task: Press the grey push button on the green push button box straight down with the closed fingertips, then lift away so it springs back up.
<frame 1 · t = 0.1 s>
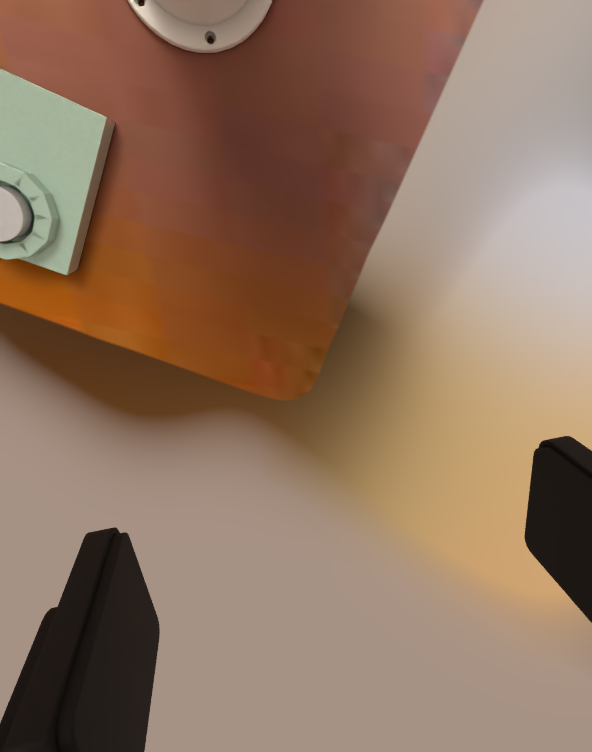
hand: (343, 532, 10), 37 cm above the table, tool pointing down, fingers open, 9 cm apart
green push button box: (34, 175, 38), on the table
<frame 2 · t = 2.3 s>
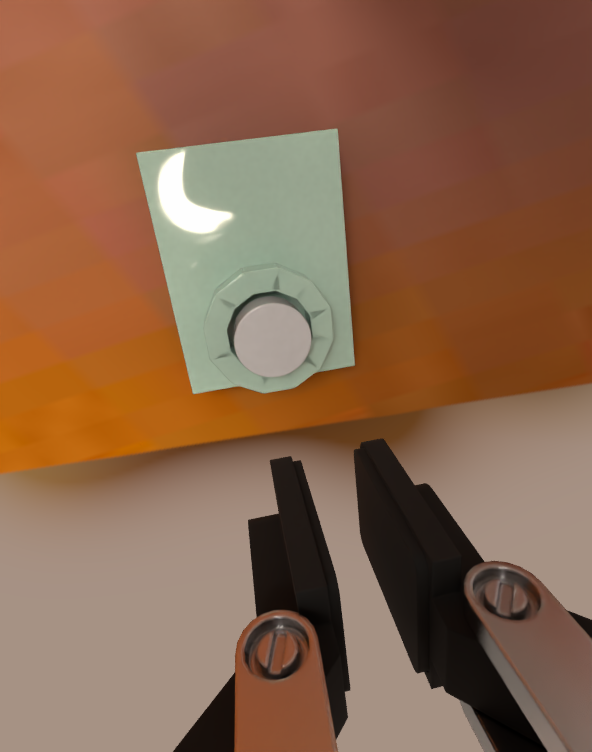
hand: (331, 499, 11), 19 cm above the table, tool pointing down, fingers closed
green push button box: (254, 263, 27), on the table
grey push button: (271, 336, 24), point 5 cm above the table, slide at 0.1 cm
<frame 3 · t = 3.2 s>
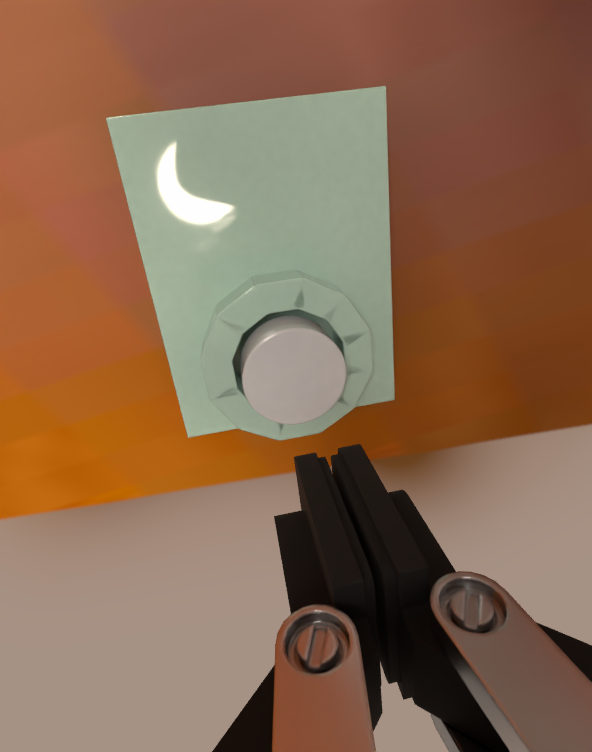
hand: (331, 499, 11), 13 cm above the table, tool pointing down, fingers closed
green push button box: (267, 269, 21), on the table
grey push button: (292, 370, 18), point 5 cm above the table, slide at 0.1 cm
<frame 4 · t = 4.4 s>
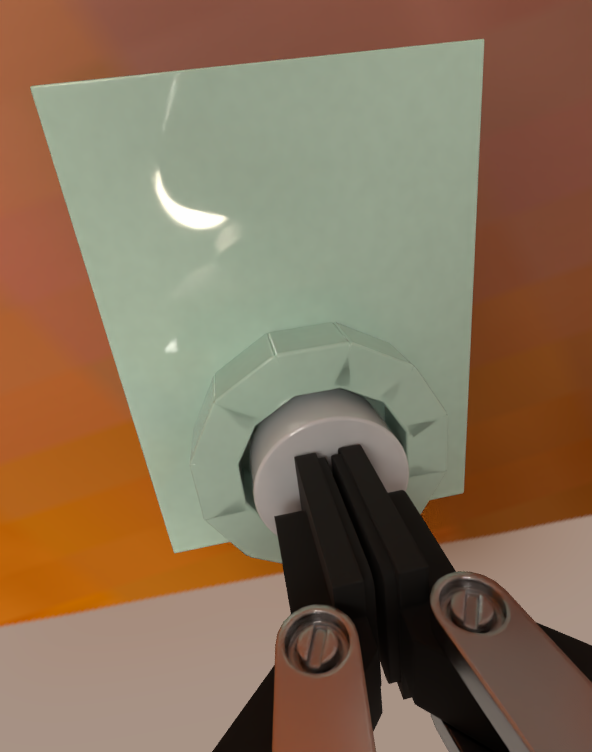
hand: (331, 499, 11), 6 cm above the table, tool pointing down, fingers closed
green push button box: (286, 311, 15), on the table
grey push button: (326, 468, 12), point 5 cm above the table, slide at -0.4 cm, touching gripper
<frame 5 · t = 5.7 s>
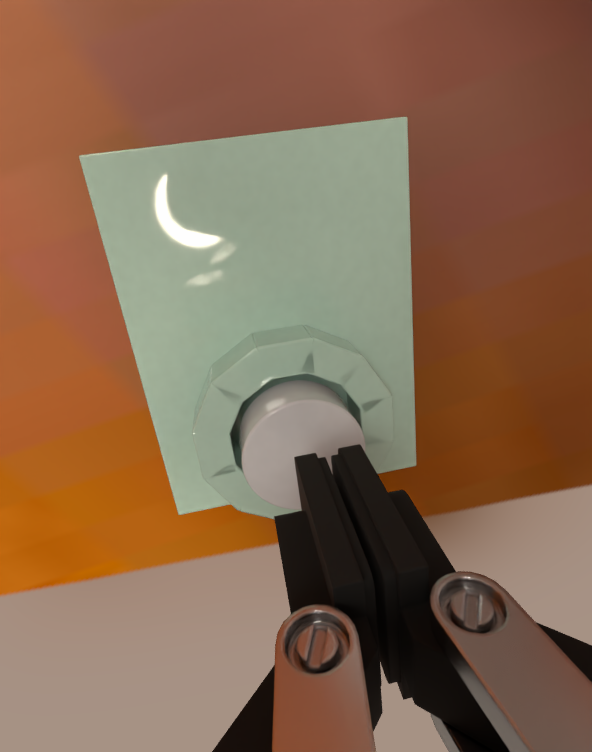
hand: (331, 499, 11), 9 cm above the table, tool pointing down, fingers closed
green push button box: (269, 318, 19), on the table
grey push button: (300, 444, 15), point 5 cm above the table, slide at 0.1 cm
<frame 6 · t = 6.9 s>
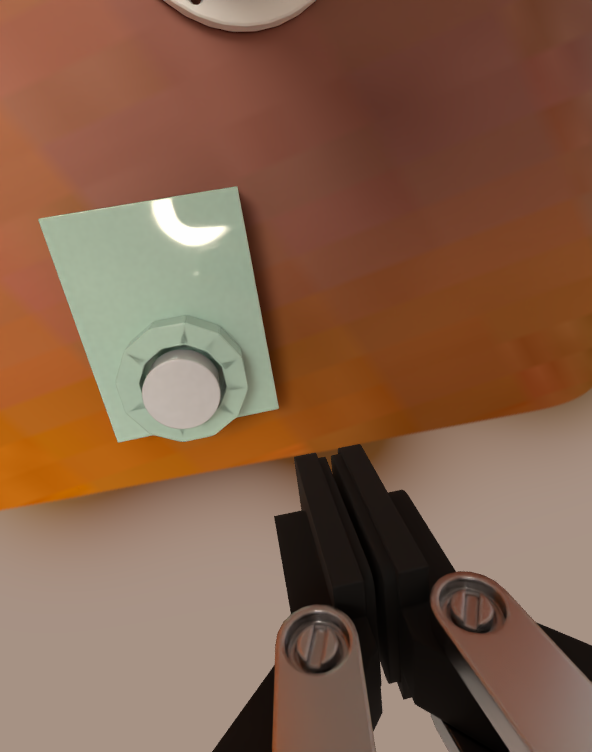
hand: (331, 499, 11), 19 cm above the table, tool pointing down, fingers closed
green push button box: (177, 311, 28), on the table
grey push button: (182, 389, 24), point 5 cm above the table, slide at 0.1 cm
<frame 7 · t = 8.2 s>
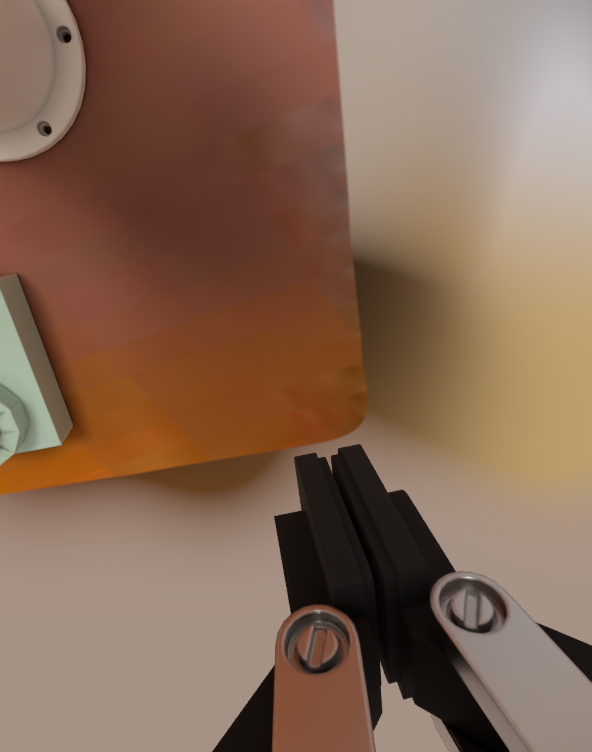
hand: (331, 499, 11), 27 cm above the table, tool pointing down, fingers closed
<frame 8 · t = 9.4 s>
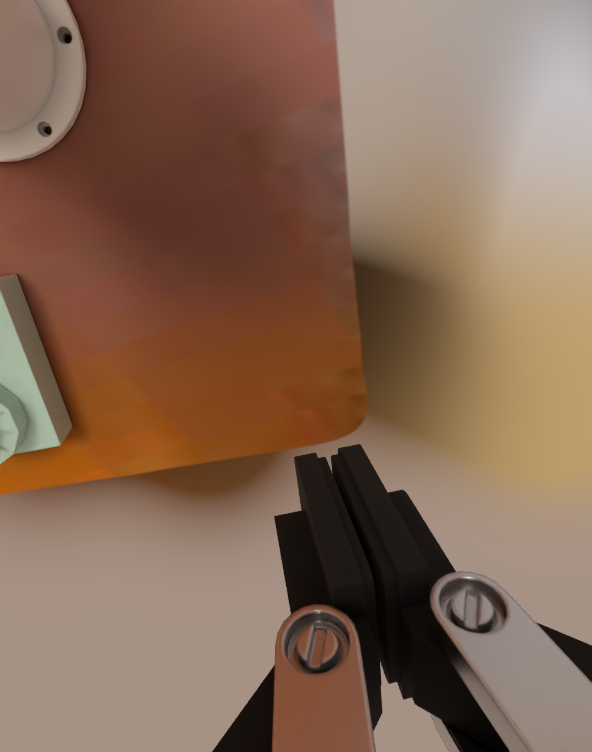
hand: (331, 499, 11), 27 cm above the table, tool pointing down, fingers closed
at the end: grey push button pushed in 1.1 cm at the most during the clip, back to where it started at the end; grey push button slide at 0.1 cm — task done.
